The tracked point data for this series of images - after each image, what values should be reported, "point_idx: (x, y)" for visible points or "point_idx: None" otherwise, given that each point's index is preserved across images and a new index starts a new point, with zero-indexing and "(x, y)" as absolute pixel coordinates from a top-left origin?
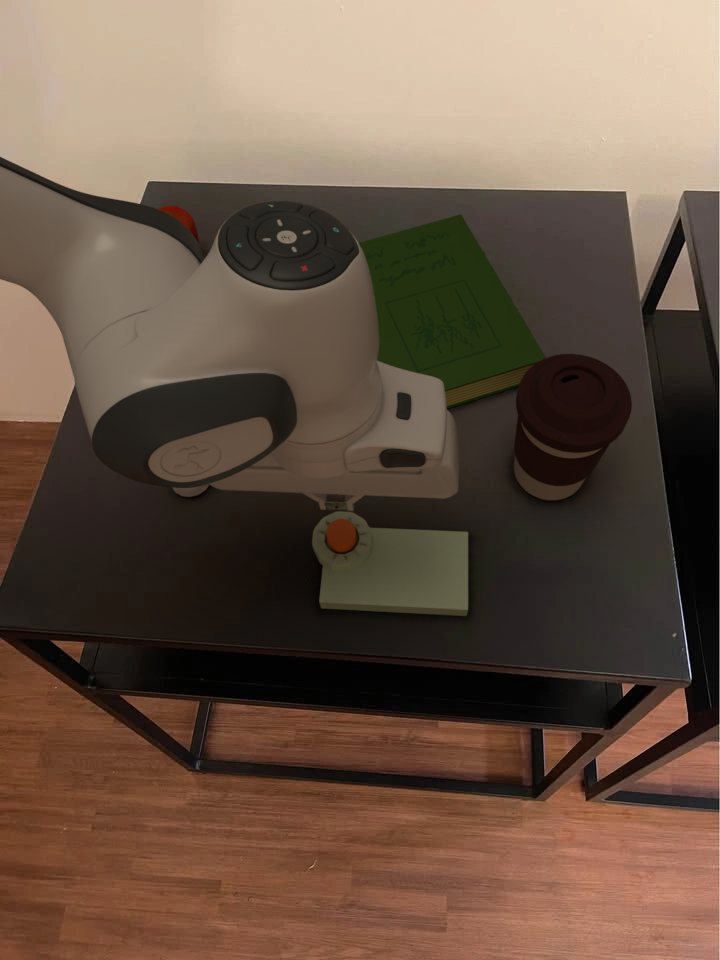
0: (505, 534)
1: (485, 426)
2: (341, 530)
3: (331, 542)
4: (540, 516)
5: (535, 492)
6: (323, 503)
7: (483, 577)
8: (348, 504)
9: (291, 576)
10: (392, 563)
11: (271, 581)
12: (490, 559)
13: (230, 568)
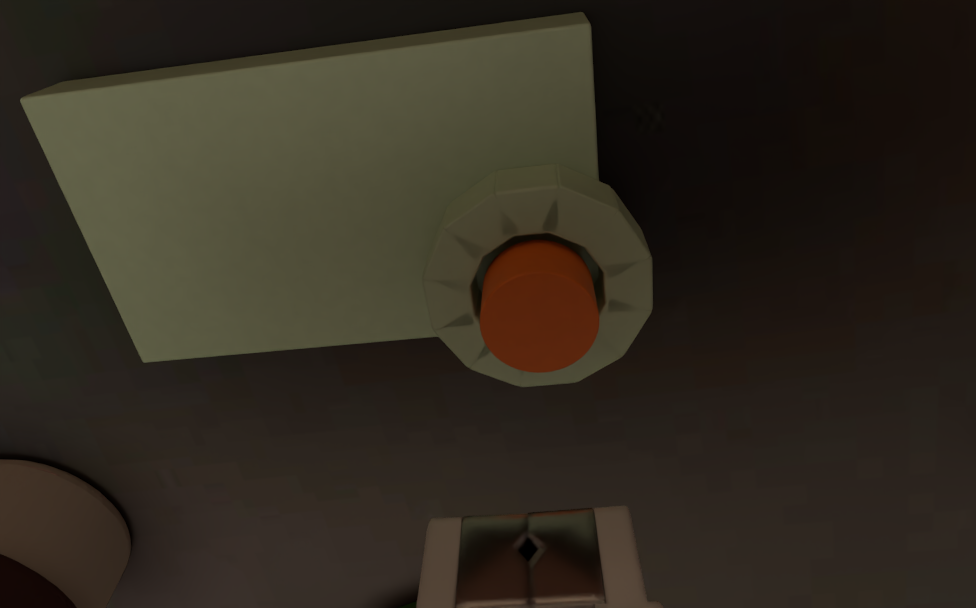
0: (71, 358)
1: (240, 598)
2: (537, 330)
3: (569, 279)
4: (5, 415)
5: (22, 483)
6: (610, 585)
7: (72, 224)
8: (442, 595)
9: (713, 120)
10: (345, 226)
11: (790, 88)
12: (77, 282)
13: (956, 112)
